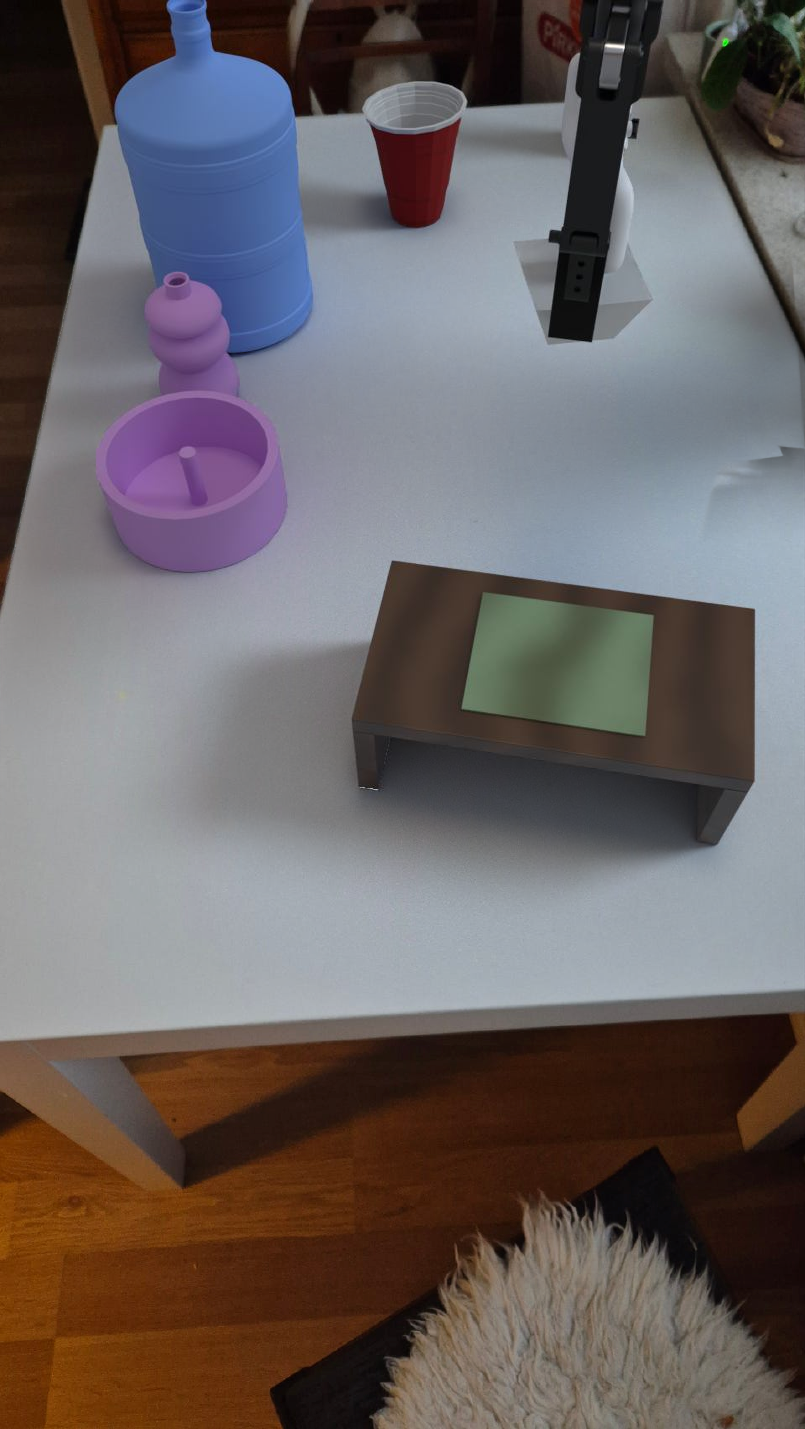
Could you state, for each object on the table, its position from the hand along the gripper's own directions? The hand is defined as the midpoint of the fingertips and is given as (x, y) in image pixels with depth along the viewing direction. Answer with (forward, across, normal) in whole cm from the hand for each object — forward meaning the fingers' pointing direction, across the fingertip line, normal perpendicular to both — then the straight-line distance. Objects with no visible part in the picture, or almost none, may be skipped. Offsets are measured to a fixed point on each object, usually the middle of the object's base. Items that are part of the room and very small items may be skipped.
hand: (579, 288), depth 64 cm
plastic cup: (+26, -48, -20) cm, 59 cm away
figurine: (+3, 0, 0) cm, 3 cm away
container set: (+26, -5, -32) cm, 41 cm away
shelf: (+26, +17, +3) cm, 31 cm away
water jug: (+26, -28, -35) cm, 52 cm away
